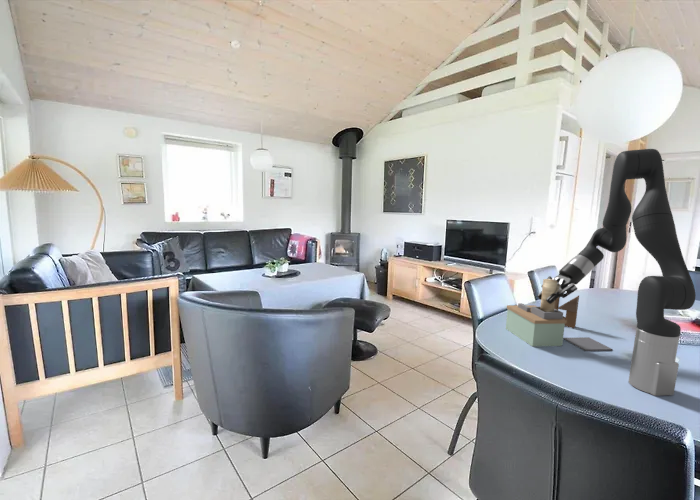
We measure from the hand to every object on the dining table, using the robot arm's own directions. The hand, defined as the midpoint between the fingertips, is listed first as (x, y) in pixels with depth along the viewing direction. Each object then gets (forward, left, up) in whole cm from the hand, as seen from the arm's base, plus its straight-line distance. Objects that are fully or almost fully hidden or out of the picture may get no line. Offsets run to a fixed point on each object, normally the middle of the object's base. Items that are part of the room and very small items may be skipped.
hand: (543, 299), depth 130 cm
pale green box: (+4, 0, -17) cm, 17 cm away
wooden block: (+18, -23, -17) cm, 34 cm away
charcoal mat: (-4, -17, -17) cm, 24 cm away
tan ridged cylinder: (0, -2, -6) cm, 7 cm away
